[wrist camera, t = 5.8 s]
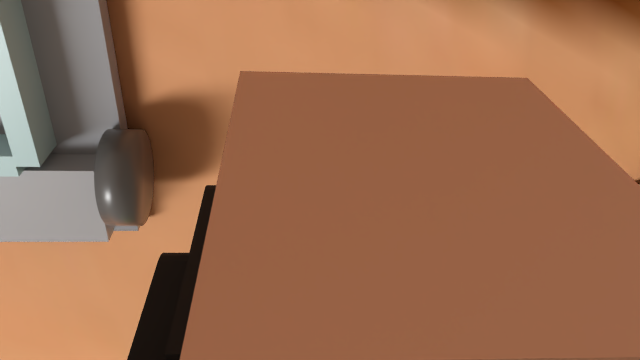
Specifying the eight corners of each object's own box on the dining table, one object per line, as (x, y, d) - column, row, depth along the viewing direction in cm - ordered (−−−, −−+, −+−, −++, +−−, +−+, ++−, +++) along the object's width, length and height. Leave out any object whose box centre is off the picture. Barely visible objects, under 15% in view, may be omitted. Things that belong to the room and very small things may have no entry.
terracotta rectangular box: (527, 78, 9) (815, 354, 4) (455, 348, 13) (564, 669, 8) (240, 71, 9) (179, 362, 4) (250, 351, 13) (226, 687, 8)
